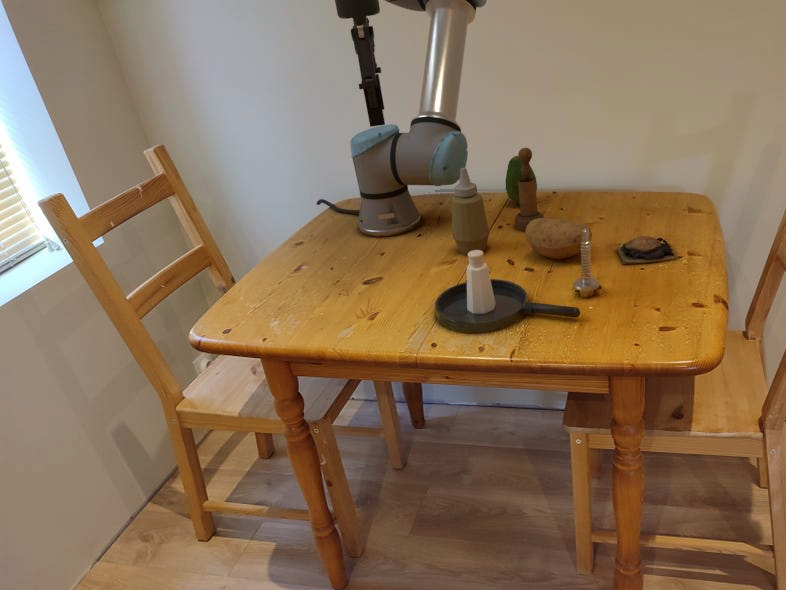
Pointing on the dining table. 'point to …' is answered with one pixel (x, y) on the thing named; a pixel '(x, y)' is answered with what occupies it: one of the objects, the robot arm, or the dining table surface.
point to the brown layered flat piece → (645, 250)
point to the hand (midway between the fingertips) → (377, 117)
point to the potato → (555, 237)
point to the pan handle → (550, 309)
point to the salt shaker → (479, 285)
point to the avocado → (515, 178)
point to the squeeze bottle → (468, 216)
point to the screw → (586, 269)
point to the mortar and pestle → (526, 193)
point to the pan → (460, 319)
